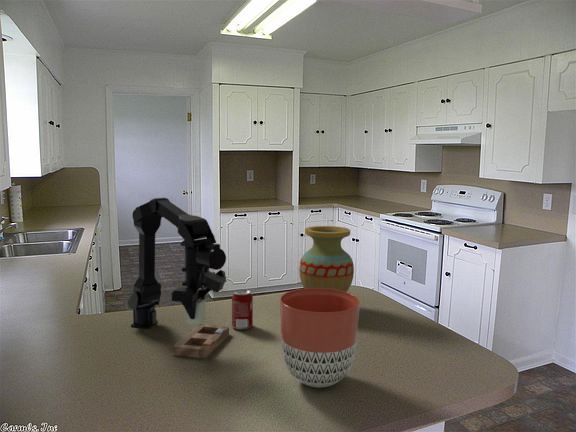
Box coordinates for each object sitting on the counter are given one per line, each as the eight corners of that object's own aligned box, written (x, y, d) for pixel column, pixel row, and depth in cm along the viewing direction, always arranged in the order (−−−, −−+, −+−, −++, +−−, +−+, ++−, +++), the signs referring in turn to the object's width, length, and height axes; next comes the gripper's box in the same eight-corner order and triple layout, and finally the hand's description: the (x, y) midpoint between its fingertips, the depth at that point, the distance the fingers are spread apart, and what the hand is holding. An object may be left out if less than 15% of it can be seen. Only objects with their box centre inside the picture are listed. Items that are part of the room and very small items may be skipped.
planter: (298, 409, 103) (300, 317, 100) (267, 371, 121) (268, 292, 118) (372, 392, 111) (375, 306, 108) (332, 359, 128) (334, 284, 125)
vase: (364, 312, 167) (367, 231, 163) (320, 323, 155) (323, 236, 151) (329, 298, 183) (331, 223, 179) (287, 307, 172) (289, 227, 168)
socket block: (173, 354, 130) (173, 345, 129) (199, 331, 147) (199, 322, 147) (206, 358, 127) (206, 348, 127) (229, 334, 145) (229, 325, 144)
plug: (186, 323, 130) (186, 301, 130) (192, 318, 134) (192, 297, 133) (199, 324, 129) (199, 303, 129) (205, 319, 133) (205, 298, 132)
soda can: (249, 331, 147) (249, 295, 146) (229, 330, 149) (229, 294, 147) (254, 324, 154) (255, 289, 152) (235, 322, 155) (235, 288, 154)
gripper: (209, 273, 119) (209, 331, 121) (233, 257, 137) (233, 308, 139) (169, 270, 121) (170, 327, 123) (198, 255, 139) (199, 305, 141)
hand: (195, 316), depth 132 cm, fingers closed on plug, 4 cm apart
